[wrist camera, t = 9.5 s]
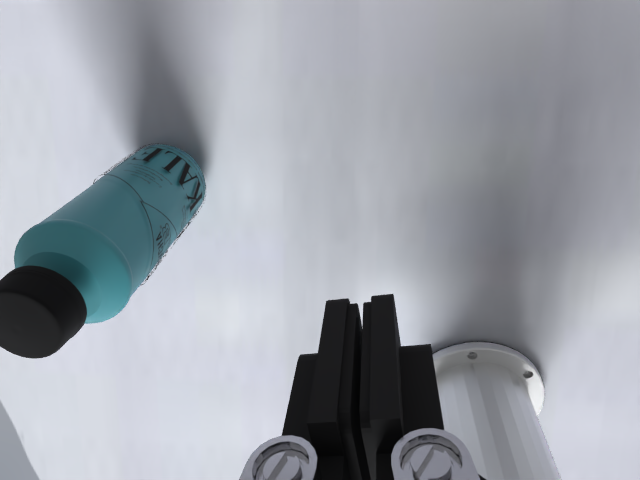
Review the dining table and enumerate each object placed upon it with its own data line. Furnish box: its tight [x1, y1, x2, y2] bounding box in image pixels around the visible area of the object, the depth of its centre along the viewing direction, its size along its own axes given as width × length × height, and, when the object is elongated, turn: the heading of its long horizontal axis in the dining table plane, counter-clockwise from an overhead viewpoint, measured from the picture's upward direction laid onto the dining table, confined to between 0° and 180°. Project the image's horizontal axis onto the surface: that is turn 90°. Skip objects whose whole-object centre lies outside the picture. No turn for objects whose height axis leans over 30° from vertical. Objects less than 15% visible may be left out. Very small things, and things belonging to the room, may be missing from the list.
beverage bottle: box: [0, 144, 206, 358], centre depth 30 cm, size 6×7×20 cm
